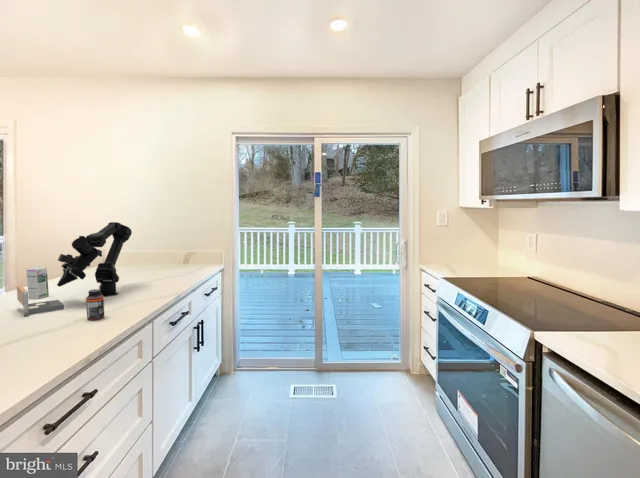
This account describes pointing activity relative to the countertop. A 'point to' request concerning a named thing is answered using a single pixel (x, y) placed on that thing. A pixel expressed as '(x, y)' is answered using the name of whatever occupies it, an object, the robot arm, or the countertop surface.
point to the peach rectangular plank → (20, 293)
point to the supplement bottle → (95, 305)
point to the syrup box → (37, 282)
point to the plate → (40, 306)
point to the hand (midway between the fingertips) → (58, 285)
